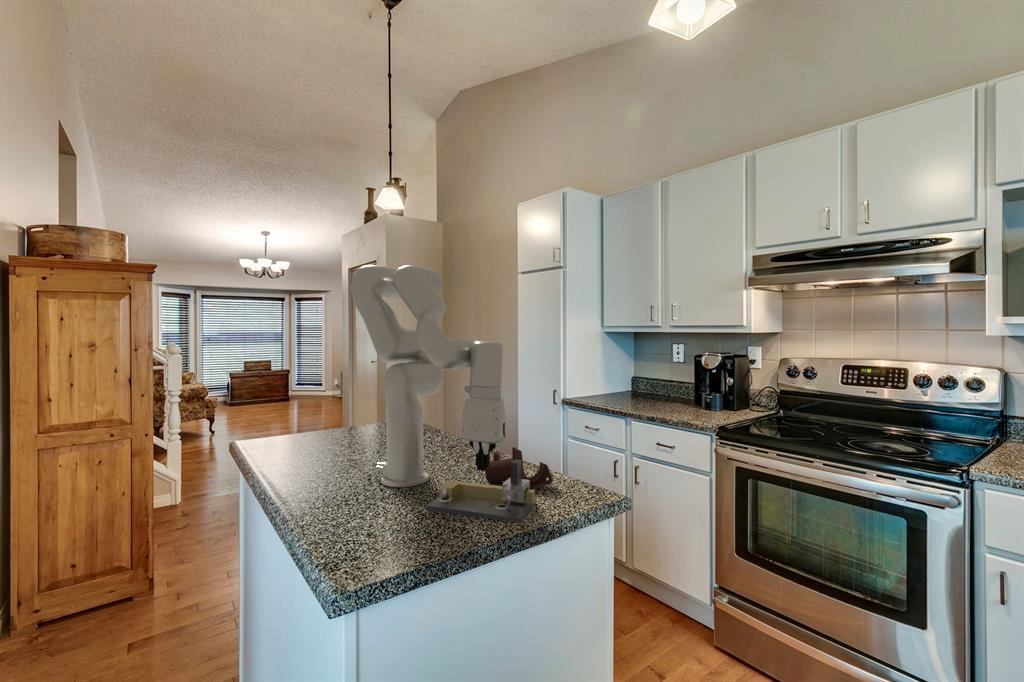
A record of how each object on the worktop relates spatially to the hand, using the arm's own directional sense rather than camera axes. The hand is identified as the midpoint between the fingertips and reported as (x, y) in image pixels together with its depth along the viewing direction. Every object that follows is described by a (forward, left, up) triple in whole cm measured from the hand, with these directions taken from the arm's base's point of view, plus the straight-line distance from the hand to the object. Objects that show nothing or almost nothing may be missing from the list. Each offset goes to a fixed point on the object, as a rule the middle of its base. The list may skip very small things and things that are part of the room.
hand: (482, 469), depth 113 cm
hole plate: (+2, -5, -7) cm, 9 cm away
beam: (+2, -3, -6) cm, 7 cm away
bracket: (+5, +13, -8) cm, 16 cm away
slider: (+9, -2, -6) cm, 11 cm away
